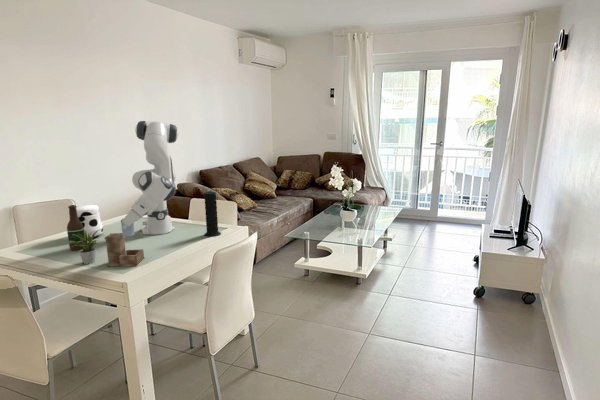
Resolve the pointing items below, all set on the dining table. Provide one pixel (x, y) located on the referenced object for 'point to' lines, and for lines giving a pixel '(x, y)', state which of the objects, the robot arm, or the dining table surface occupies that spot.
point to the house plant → (86, 247)
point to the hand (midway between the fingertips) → (126, 226)
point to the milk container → (90, 219)
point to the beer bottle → (74, 228)
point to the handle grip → (211, 214)
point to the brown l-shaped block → (121, 252)
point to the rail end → (127, 230)
